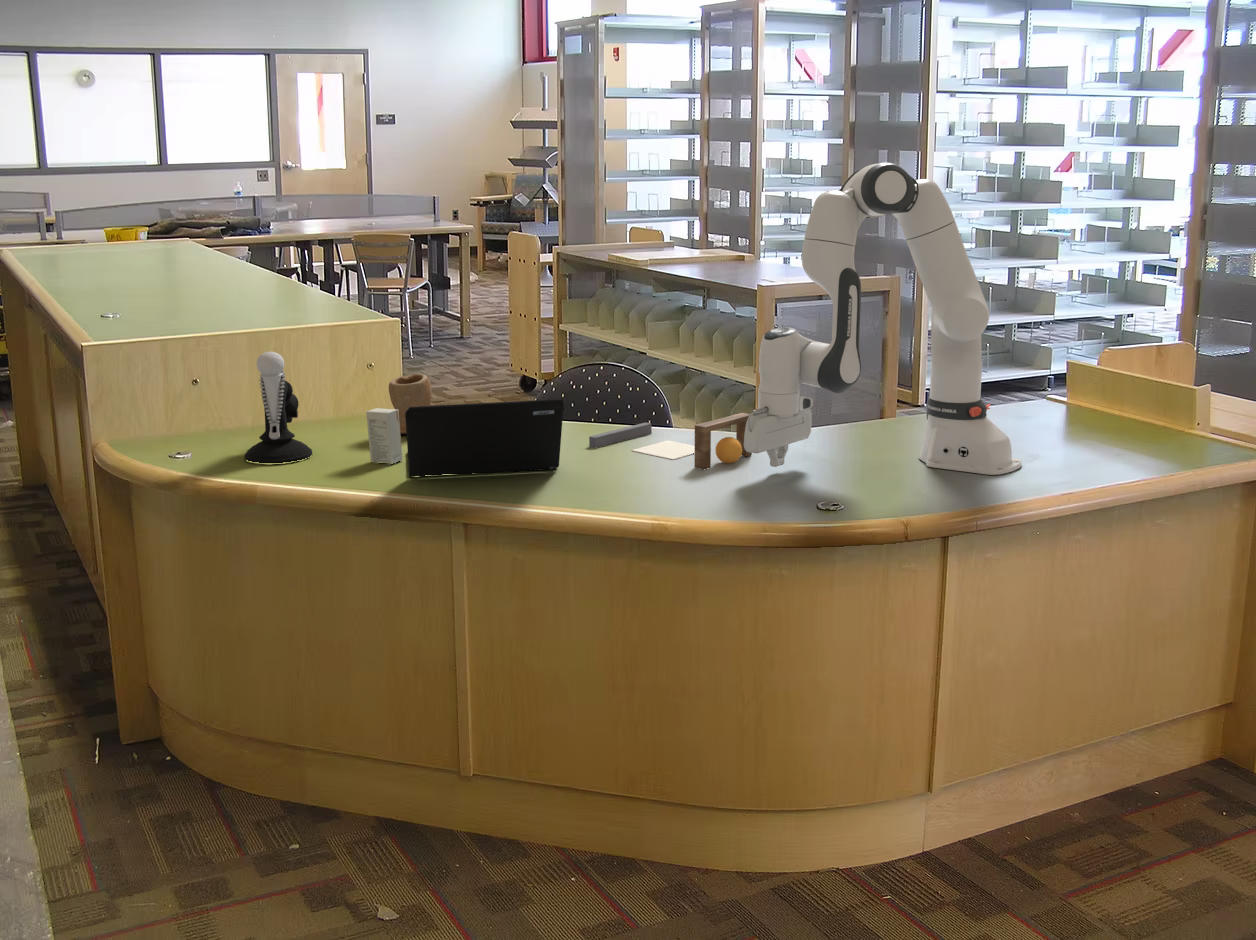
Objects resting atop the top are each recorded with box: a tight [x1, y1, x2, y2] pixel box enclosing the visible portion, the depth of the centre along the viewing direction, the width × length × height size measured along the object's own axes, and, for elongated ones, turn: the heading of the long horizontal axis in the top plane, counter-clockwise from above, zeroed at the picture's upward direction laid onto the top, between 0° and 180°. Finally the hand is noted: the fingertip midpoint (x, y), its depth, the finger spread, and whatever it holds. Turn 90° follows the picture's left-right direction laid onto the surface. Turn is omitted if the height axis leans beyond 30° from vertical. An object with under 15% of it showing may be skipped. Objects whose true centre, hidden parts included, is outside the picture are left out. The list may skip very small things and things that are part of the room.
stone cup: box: [388, 373, 433, 435], centre depth 315 cm, size 15×12×15 cm
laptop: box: [405, 398, 565, 477], centre depth 281 cm, size 33×38×19 cm
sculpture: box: [244, 351, 313, 463], centre depth 295 cm, size 15×24×25 cm, turn 6°
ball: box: [715, 436, 742, 464], centre depth 285 cm, size 6×6×6 cm
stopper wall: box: [588, 421, 653, 449], centre depth 308 cm, size 2×20×2 cm, turn 137°
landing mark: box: [631, 439, 695, 461], centre depth 298 cm, size 13×13×1 cm
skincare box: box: [365, 407, 403, 465], centre depth 288 cm, size 6×4×12 cm
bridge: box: [694, 412, 753, 470], centre depth 286 cm, size 3×17×10 cm, turn 137°
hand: (777, 465), depth 277 cm, fingers closed
